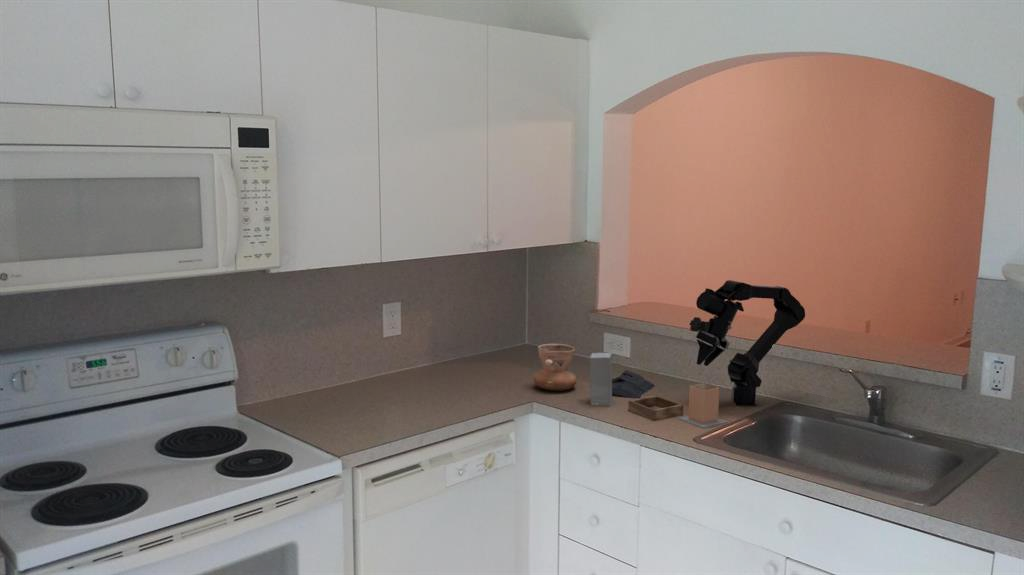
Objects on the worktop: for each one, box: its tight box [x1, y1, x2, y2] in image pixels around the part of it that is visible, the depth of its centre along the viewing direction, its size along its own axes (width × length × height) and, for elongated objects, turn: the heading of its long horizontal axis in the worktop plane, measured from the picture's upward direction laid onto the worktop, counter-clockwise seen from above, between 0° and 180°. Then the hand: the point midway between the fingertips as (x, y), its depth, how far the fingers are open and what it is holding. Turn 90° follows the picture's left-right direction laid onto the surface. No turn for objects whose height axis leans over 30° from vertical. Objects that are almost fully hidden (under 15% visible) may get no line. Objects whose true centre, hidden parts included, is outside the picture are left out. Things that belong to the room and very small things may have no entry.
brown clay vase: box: [533, 343, 578, 392], centre depth 270 cm, size 18×14×14 cm
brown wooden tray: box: [627, 395, 684, 422], centre depth 243 cm, size 12×12×4 cm
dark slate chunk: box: [612, 369, 655, 399], centre depth 269 cm, size 15×22×5 cm
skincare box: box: [589, 352, 613, 407], centre depth 253 cm, size 8×7×16 cm
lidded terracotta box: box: [687, 382, 720, 424], centre depth 235 cm, size 6×6×10 cm
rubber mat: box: [678, 415, 729, 429], centre depth 236 cm, size 10×10×1 cm
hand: (701, 364), depth 249 cm, fingers open, 9 cm apart
